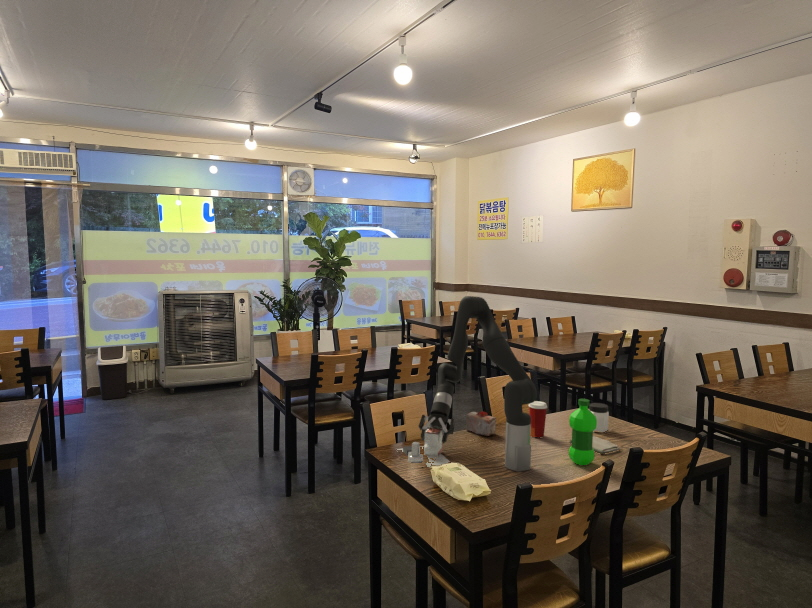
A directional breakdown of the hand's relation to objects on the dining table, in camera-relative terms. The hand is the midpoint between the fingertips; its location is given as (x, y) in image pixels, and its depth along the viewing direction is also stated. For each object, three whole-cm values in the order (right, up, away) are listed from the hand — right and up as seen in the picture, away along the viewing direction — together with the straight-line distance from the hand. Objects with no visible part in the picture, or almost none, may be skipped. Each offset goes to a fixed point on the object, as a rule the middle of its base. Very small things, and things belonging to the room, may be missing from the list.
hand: (432, 440), depth 213 cm
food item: (+23, -4, +29) cm, 37 cm away
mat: (-4, -6, -3) cm, 8 cm away
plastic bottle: (+57, -7, -6) cm, 58 cm away
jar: (+78, -4, +35) cm, 86 cm away
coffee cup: (+48, -5, +25) cm, 54 cm away
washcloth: (+69, -6, +13) cm, 71 cm away
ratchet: (-8, -6, -4) cm, 11 cm away
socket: (0, -5, +1) cm, 5 cm away
